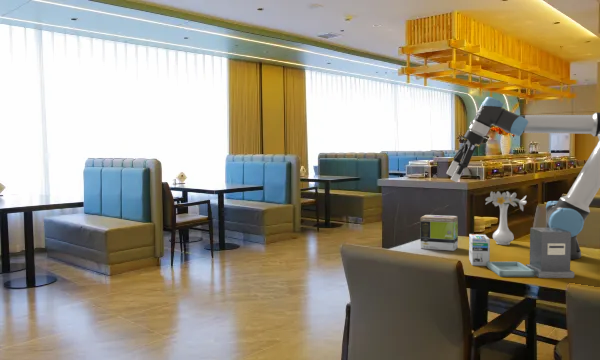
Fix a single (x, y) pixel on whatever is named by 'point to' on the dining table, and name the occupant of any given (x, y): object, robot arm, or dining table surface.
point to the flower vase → (504, 215)
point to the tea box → (439, 232)
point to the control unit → (550, 253)
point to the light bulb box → (479, 249)
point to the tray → (510, 269)
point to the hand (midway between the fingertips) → (451, 178)
